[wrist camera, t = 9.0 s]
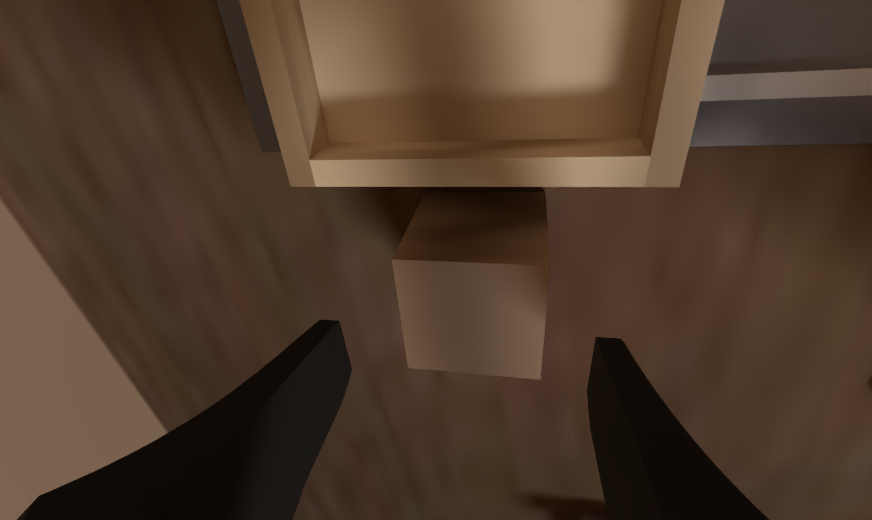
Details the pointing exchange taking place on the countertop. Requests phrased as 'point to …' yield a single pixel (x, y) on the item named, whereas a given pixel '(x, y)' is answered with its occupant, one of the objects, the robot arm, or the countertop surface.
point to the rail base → (724, 74)
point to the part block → (475, 282)
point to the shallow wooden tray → (483, 90)
